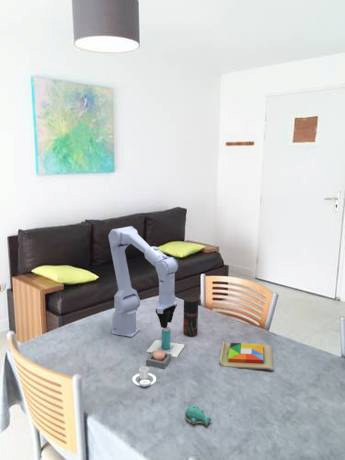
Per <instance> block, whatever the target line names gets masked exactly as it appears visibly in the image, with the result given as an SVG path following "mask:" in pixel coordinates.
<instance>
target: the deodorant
mask: <svg viewBox="0 0 345 460" xmlns="http://www.w3.org/2000/svg"><path fill="white" fill-rule="evenodd" d="M182 322H183V323H182V324H183V328H182V329H183V330H182V334H183V336H185V337H189V338H192V337H193V338H194V337H197V336H198V334H199V333H198V330H199V324H198V323H199V298H198V297H196V296H195V297H194V296H187V297H184V298H183V321H182Z"/></svg>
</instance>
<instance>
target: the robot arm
mask: <svg viewBox="0 0 345 460" xmlns="http://www.w3.org/2000/svg"><path fill="white" fill-rule="evenodd" d="M108 241H109V245H110V252H111V257H112V262H113V268H114V273H115V277H116V279H115V280H116V284H117V291H116V293H115V295H114V296H113V297H114V303H113V305H114V306H113V307H114V311H113V314H112V318H111V319H112V322H111V323H112V327H111V329H112V331H111V334H112V335H118V336H123V337H128V338H129V337H130V338H133V337H134V336H135V335H136V334H137V333H139V330H140V328H139V327H137V312H138V309H139V307H140V306H141V300H140V296H139V295H138V291H137V290H136V289H134V288H133V287H132V282H131V277H130V273H129V267H128V262H127V256H126V249H127V247H128V246H130V245H132V246H134V247H135V248H136V249H138V250H139V251H140V252H142V253H143V254H144V258H145V260H147V262H149V263H150V264H151V265H152V266H153V267H154V268H155V271H156V273H157V278H158V286H159V287H158V303H157V304H158V305H157V308H156V309H155V314H156V316H157V317H158V319H159V323H160V324H159V325H160V328H161V329H163V328H167V327H168V325H169V324H171V323H172V321H173V316H174V313H175V310H176V308H177V307H178V302H177V301H176V295H175V286H176V285H175V282H176V281H175V273H176V272H177V271H178V269H179V263H178V260H176V259H175V257H173V256H167V254H165V253H163V252H162V251H161V250H159V247H158V246H150V245H149V244H148V243H147V242H146V241H145V240H144V238H142V236H140V235H139V233H138V230H137V228H134V227H133V226H132V225H129V226H125V227H119V228H112V229H111V230H110V232H109V234H108Z"/></svg>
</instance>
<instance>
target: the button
mask: <svg viewBox="0 0 345 460" xmlns="http://www.w3.org/2000/svg"><path fill="white" fill-rule="evenodd" d="M153 359H154V360H158V361H164V359H165V352H164V351H162V350H156V351H154V352H153Z"/></svg>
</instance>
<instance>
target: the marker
mask: <svg viewBox="0 0 345 460" xmlns="http://www.w3.org/2000/svg"><path fill="white" fill-rule="evenodd" d="M171 332H172V331H171V329H170V327H169V326H167V328H161V340H160V341H161V348H162V349H163V350H169V349H170V342H171Z"/></svg>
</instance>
